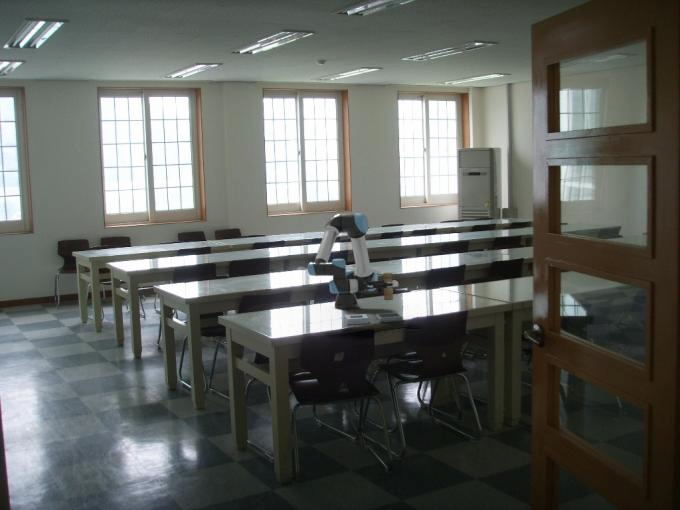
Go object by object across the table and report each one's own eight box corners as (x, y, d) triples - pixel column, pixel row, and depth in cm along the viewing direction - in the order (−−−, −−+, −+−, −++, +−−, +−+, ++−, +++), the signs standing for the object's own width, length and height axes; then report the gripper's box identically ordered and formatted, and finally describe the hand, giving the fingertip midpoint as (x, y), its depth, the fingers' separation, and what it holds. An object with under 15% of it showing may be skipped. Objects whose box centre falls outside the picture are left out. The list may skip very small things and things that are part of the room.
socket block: (345, 320, 435) (344, 315, 434) (365, 319, 436) (365, 314, 436) (347, 324, 423) (347, 319, 422) (368, 323, 424) (368, 317, 424)
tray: (376, 318, 437) (376, 314, 437) (398, 316, 438) (398, 312, 438) (380, 322, 424) (379, 318, 424) (402, 321, 426) (402, 316, 425)
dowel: (383, 299, 432) (382, 273, 430) (392, 298, 433) (391, 272, 431) (385, 300, 427) (384, 274, 426) (393, 299, 428) (392, 273, 426)
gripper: (355, 289, 436) (394, 287, 439) (359, 294, 419) (400, 292, 421) (354, 277, 436) (394, 274, 438) (358, 281, 418) (399, 278, 420)
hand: (397, 283), depth 429 cm, fingers closed on dowel, 5 cm apart
